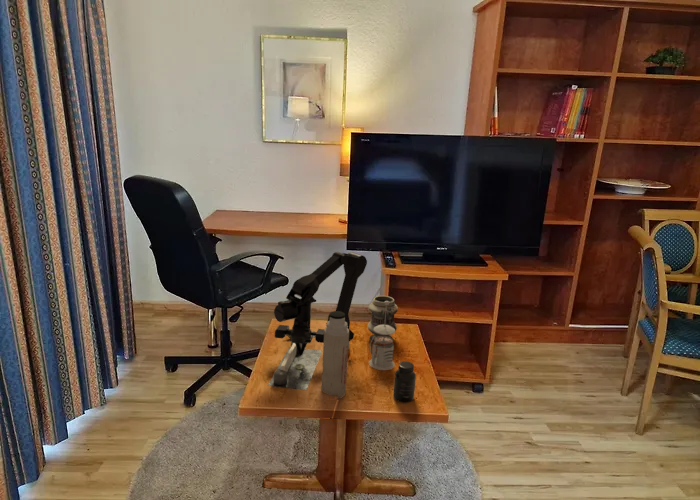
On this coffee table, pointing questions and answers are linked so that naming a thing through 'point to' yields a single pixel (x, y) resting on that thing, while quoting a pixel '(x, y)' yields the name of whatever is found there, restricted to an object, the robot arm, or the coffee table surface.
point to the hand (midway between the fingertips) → (301, 355)
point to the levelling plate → (299, 370)
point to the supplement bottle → (404, 382)
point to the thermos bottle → (335, 355)
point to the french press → (382, 347)
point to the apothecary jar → (382, 314)
